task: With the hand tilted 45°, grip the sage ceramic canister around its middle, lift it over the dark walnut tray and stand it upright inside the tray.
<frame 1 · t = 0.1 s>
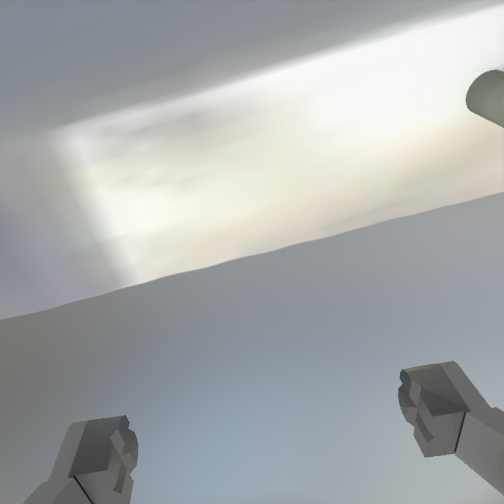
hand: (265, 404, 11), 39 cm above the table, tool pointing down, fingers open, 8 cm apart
sage ceramic canister: (486, 92, 45), on the table
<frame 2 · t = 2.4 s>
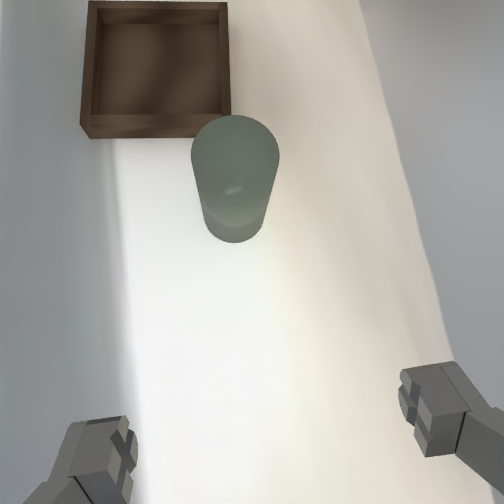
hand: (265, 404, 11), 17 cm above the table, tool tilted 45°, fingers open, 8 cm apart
sage ceramic canister: (234, 213, 31), on the table
walnut tray: (162, 77, 33), on the table
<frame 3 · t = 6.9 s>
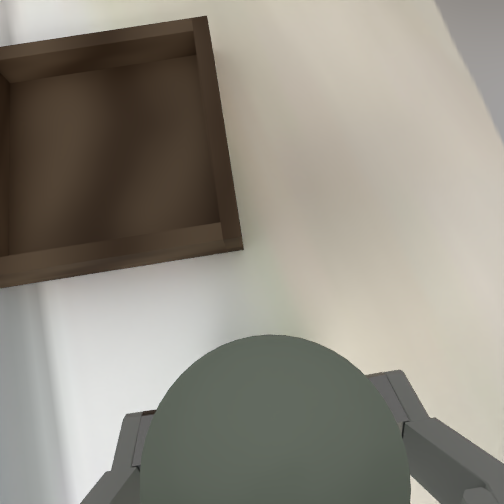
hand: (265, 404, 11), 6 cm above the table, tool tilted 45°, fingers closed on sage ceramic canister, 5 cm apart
sage ceramic canister: (267, 400, 17), on the table, touching gripper
walnut tray: (114, 159, 20), on the table
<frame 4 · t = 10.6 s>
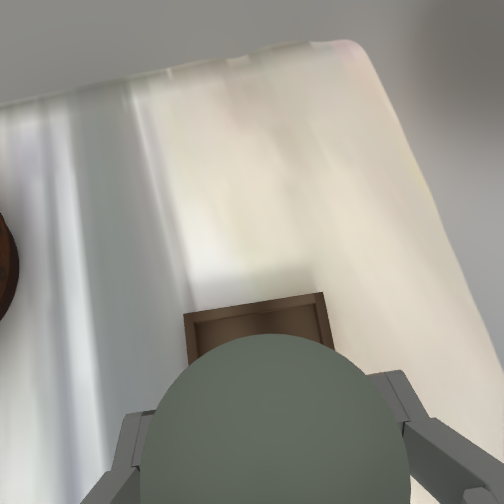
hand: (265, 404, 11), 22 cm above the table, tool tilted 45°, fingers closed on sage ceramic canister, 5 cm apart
sage ceramic canister: (267, 399, 17), point 16 cm above the table, touching gripper
walnut tray: (264, 374, 32), on the table
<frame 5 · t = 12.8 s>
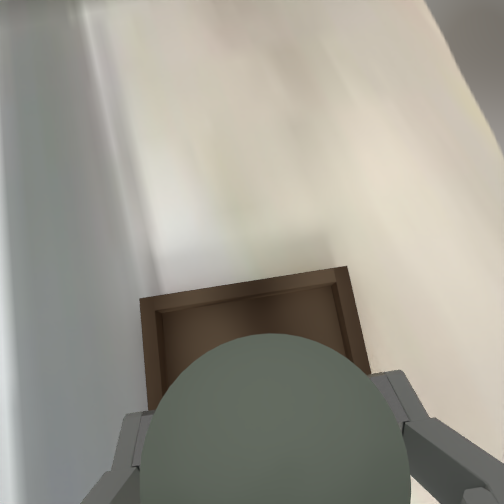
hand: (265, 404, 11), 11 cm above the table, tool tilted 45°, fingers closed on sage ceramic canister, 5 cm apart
sage ceramic canister: (267, 399, 17), point 6 cm above the table, touching gripper
walnut tray: (260, 388, 22), on the table
when the fingers open (8 cm above the table, at t = 14.6 s): sage ceramic canister drops 1 cm, resting on walnut tray.
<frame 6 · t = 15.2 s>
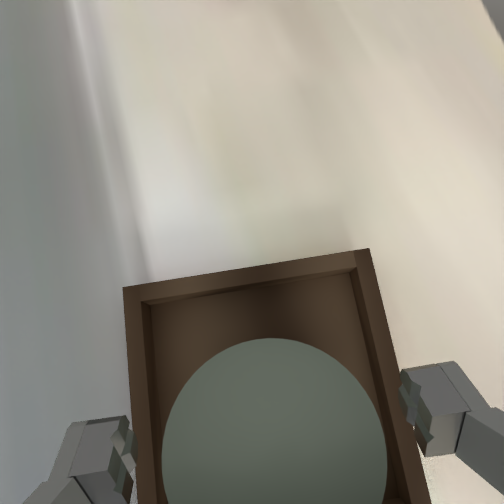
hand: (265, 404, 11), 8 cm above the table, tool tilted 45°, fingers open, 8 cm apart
sage ceramic canister: (266, 395, 18), point 1 cm above the table, touching walnut tray
walnut tray: (266, 393, 19), on the table
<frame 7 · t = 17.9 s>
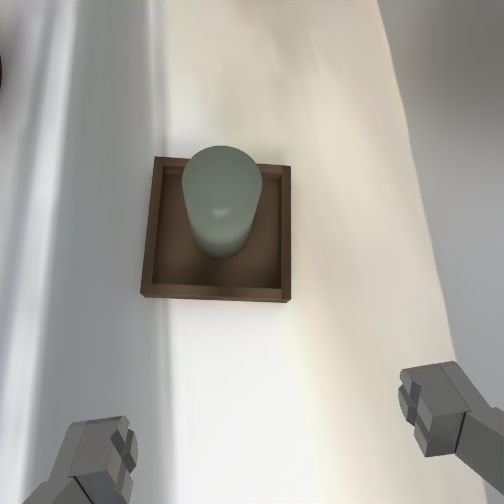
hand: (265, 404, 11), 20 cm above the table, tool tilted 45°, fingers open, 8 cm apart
sage ceramic canister: (220, 231, 33), point 1 cm above the table, touching walnut tray
walnut tray: (220, 233, 34), on the table
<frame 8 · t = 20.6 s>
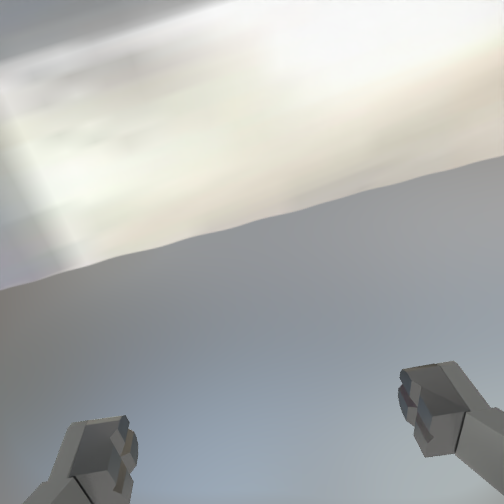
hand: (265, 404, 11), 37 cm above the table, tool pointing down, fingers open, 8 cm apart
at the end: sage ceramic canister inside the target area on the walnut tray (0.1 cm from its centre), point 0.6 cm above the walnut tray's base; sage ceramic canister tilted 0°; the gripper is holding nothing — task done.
